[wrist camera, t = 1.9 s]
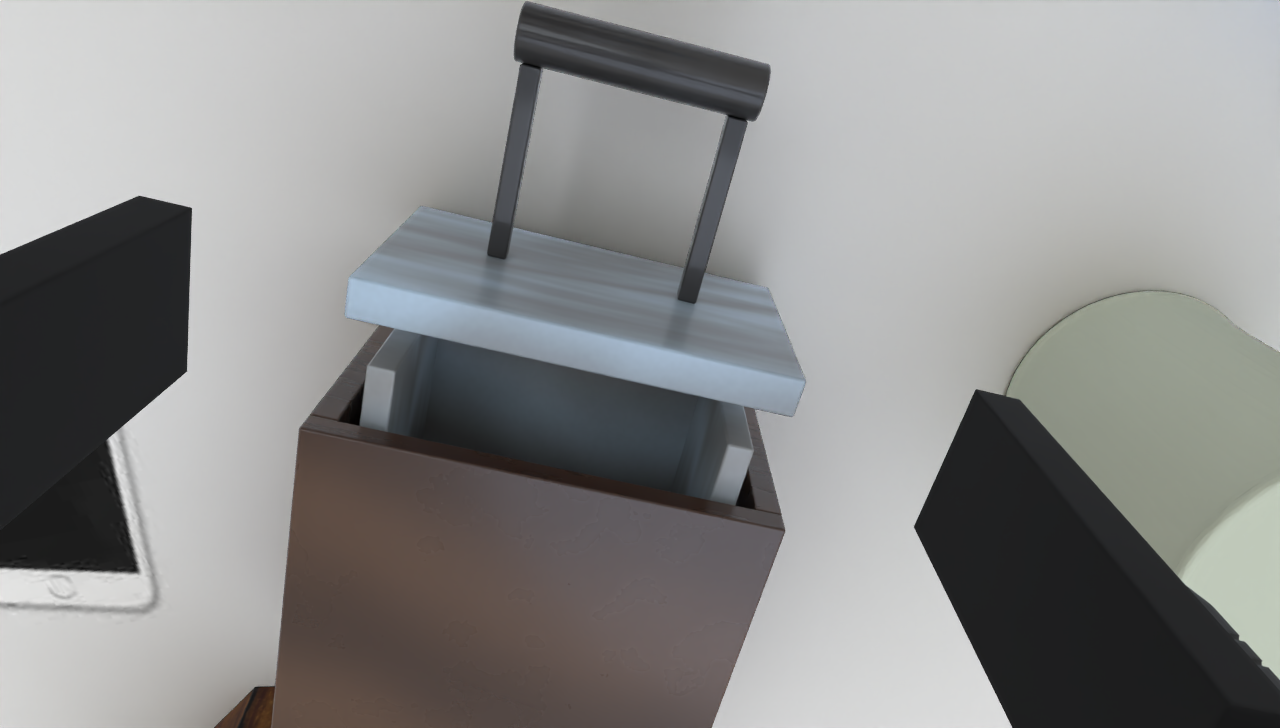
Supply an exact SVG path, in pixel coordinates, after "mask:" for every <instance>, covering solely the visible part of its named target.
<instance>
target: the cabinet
mask: <svg viewBox="0 0 1280 728" xmlns="http://www.w3.org/2000/svg"><path fill="white" fill-rule="evenodd" d="M393 330H394V328H390V327H386V326H381V325H379V327H378V328H377V329H376V330H375V332H374V333H373V334H372V336H371V337H370V338H369V339H368V341H367V342H366V343H365V345H364V346H363V347H362V348H361V350H360V351H359V352H358V354H357V355H356V356H355V357H354V359H353V360H352V361H351V363H350V364H349V365H348V366H347V368H346V369H345V370H344V372H343V373H342V374H341V375H340V377H339V378H338V379H337V381H336V382H335V383H334V384H333V386H332V387H331V388H330V390H329V391H328V392H327V393H326V395H325V396H324V397H323V399H322V400H321V401H320V402H319V404H318V405H317V406H316V408H315V409H314V410H313V411H312V413H311V414H310V416H309V417H308V418H307V419H306V420H305V422H304V423H303V424H302V426H301V427H300V428H299V435H298V446H297V456H296V467H295V478H294V489H293V499H292V510H291V521H290V532H289V542H288V553H287V564H286V575H285V585H284V596H283V607H282V618H281V628H280V639H279V650H278V661H277V671H276V682H275V693H274V704H273V714H272V725H271V728H712V725H713V722H714V720H715V717H716V714H717V712H718V709H719V706H720V704H721V701H722V698H723V696H724V693H725V690H726V688H727V685H728V683H729V680H730V677H731V675H732V672H733V669H734V667H735V664H736V661H737V659H738V656H739V653H740V651H741V648H742V645H743V643H744V640H745V637H746V635H747V632H748V629H749V627H750V624H751V621H752V619H753V616H754V613H755V611H756V608H757V605H758V603H759V600H760V597H761V595H762V592H763V589H764V587H765V584H766V581H767V579H768V576H769V573H770V571H771V568H772V565H773V563H774V560H775V557H776V555H777V552H778V549H779V547H780V544H781V541H782V539H783V536H784V533H785V527H784V523H783V519H782V516H781V510H780V507H779V503H778V499H777V495H776V491H775V487H774V483H773V479H772V475H771V472H770V468H769V464H768V460H767V456H766V452H765V448H764V444H763V440H762V437H761V433H760V429H759V425H758V421H757V417H756V413H755V409H753V408H749V407H744V410H745V414H746V419H747V423H748V427H749V432H750V436H751V440H752V444H753V449H754V452H753V455H752V458H751V461H750V464H749V467H748V470H747V473H746V475H745V478H744V481H743V484H742V487H741V490H740V493H739V496H738V499H737V502H736V505H730V504H725V503H721V502H716V501H711V500H706V499H702V498H697V497H692V496H688V495H683V494H678V493H673V492H669V491H664V490H659V489H655V488H650V487H645V486H640V485H636V484H631V483H626V482H622V481H617V480H612V479H607V478H603V477H598V476H593V475H589V474H584V473H579V472H574V471H570V470H565V469H560V468H556V467H551V466H546V465H541V464H537V463H532V462H527V461H523V460H518V459H513V458H508V457H504V456H499V455H494V454H489V453H485V452H480V451H475V450H471V449H466V448H461V447H456V446H452V445H447V444H442V443H438V442H433V441H428V440H423V439H419V438H414V437H409V436H405V435H400V434H395V433H390V432H386V431H381V430H376V429H372V428H367V427H362V426H360V418H361V410H362V402H363V394H364V386H365V378H366V370H367V365H368V364H369V363H370V361H371V360H372V359H373V357H374V356H375V354H376V353H377V352H378V350H379V349H380V348H381V346H382V345H383V343H384V342H385V341H386V339H387V338H388V337H389V335H390V334H391V332H392V331H393Z"/></svg>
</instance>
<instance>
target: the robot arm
mask: <svg viewBox="0 0 1280 728" xmlns="http://www.w3.org/2000/svg"><path fill="white" fill-rule="evenodd" d="M191 221H192V208H190V207H186V206H181V205H177V204H173V203H168V202H164V201H160V200H155V199H151V198H147V197H142V196H138V197H135V198H133V199H130V200H128V201H126V202H123V203H121V204H119V205H116V206H114V207H112V208H109V209H107V210H105V211H102V212H100V213H97V214H95V215H93V216H90V217H88V218H86V219H83V220H81V221H79V222H76V223H74V224H72V225H69V226H67V227H65V228H62V229H60V230H57V231H55V232H53V233H50V234H48V235H46V236H43V237H41V238H39V239H36V240H34V241H32V242H29V243H27V244H24V245H22V246H20V247H17V248H15V249H13V250H10V251H8V252H6V253H3V254H1V255H0V530H1V529H2V528H4V527H5V526H6V525H7V524H8V523H9V522H11V521H12V520H13V519H14V518H15V517H16V516H18V515H19V514H20V513H21V512H22V511H23V510H25V509H26V508H27V507H28V506H29V505H31V504H32V503H33V502H34V501H35V500H36V499H38V498H39V497H40V496H41V495H42V494H43V493H45V492H46V491H47V490H48V489H49V488H50V487H52V486H53V485H54V484H55V483H56V482H58V481H59V480H60V479H61V478H62V477H63V476H65V475H66V474H67V473H68V472H69V471H70V470H72V469H73V468H74V467H75V466H76V465H77V464H79V463H80V462H81V461H82V460H83V459H85V458H86V457H87V456H88V455H89V454H90V453H92V452H93V451H94V450H95V449H96V448H97V447H99V446H100V445H101V444H102V443H103V442H104V441H106V440H107V439H108V438H109V437H110V436H112V435H113V434H114V433H115V432H116V431H117V430H119V429H120V428H121V427H122V426H123V425H124V424H126V423H127V422H128V421H129V420H130V419H132V418H133V417H134V416H135V415H136V414H137V413H139V412H140V411H141V410H142V409H143V408H144V407H146V406H147V405H148V404H149V403H150V402H151V401H153V400H154V399H155V398H156V397H157V396H159V395H160V394H161V393H162V392H163V391H164V390H166V389H167V388H168V387H169V386H170V385H171V384H173V383H174V382H175V381H176V380H177V379H178V378H180V377H181V376H182V375H183V374H184V373H186V372H187V352H188V319H189V286H190V253H191ZM914 528H915V530H916V532H917V534H918V536H919V538H920V540H921V542H922V544H923V546H924V548H925V551H926V553H927V555H928V557H929V559H930V561H931V563H932V565H933V567H934V569H935V571H936V573H937V575H938V577H939V579H940V581H941V583H942V585H943V587H944V589H945V591H946V593H947V595H948V597H949V599H950V601H951V603H952V605H953V608H954V610H955V612H956V614H957V616H958V618H959V620H960V622H961V624H962V626H963V628H964V630H965V632H966V634H967V636H968V638H969V640H970V642H971V644H972V646H973V648H974V650H975V652H976V654H977V656H978V658H979V660H980V662H981V665H982V667H983V669H984V671H985V673H986V675H987V677H988V679H989V681H990V683H991V685H992V687H993V689H994V691H995V693H996V695H997V697H998V699H999V701H1000V703H1001V705H1002V707H1003V709H1004V711H1005V713H1006V715H1007V717H1008V719H1009V722H1010V724H1011V726H1012V728H1280V680H1279V678H1278V677H1277V676H1276V675H1275V674H1274V673H1273V672H1272V671H1271V670H1270V669H1269V667H1265V666H1262V660H1261V659H1260V658H1259V656H1258V655H1257V654H1256V653H1255V652H1254V651H1253V650H1252V649H1251V648H1250V646H1249V645H1248V644H1247V643H1246V642H1244V641H1240V640H1239V636H1240V635H1239V634H1238V633H1237V632H1236V631H1235V630H1234V629H1233V628H1232V627H1231V626H1230V624H1229V623H1228V622H1227V621H1226V620H1225V619H1224V618H1223V617H1222V616H1221V615H1220V613H1219V612H1218V611H1217V610H1216V609H1215V608H1214V607H1213V606H1212V605H1211V604H1210V603H1208V602H1207V601H1206V600H1205V599H1203V598H1202V597H1201V596H1199V595H1198V594H1197V593H1195V592H1194V591H1193V590H1192V589H1190V588H1189V587H1188V586H1186V585H1185V584H1184V583H1183V582H1182V580H1181V579H1180V578H1179V577H1178V576H1177V575H1176V574H1175V573H1174V572H1173V570H1172V569H1171V568H1170V567H1169V566H1168V565H1167V564H1166V563H1165V561H1164V560H1163V559H1162V558H1161V557H1160V556H1159V555H1158V554H1157V553H1156V551H1155V550H1154V549H1153V548H1152V547H1151V546H1150V545H1149V544H1148V542H1147V541H1146V540H1145V539H1144V538H1143V537H1142V536H1141V535H1140V533H1139V532H1138V531H1137V530H1136V529H1135V528H1134V527H1133V526H1132V525H1131V523H1130V522H1129V521H1128V520H1127V519H1126V518H1125V517H1124V516H1123V514H1122V513H1121V512H1120V511H1119V510H1118V509H1117V508H1116V507H1115V506H1114V504H1113V503H1112V502H1111V501H1110V500H1109V499H1108V498H1107V497H1106V495H1105V494H1104V493H1103V492H1102V491H1101V490H1100V489H1099V488H1098V486H1097V485H1096V484H1095V483H1094V482H1093V481H1092V480H1091V479H1090V478H1089V476H1088V475H1087V474H1086V473H1085V472H1084V471H1083V470H1082V469H1081V467H1080V466H1079V465H1078V464H1077V463H1076V462H1075V461H1074V460H1073V459H1072V457H1071V456H1070V455H1069V454H1068V453H1067V452H1066V451H1065V450H1064V448H1063V447H1062V446H1061V445H1060V444H1059V443H1058V442H1057V441H1056V439H1055V438H1054V437H1053V436H1052V435H1051V434H1050V433H1049V432H1048V431H1047V429H1046V428H1045V427H1044V426H1043V425H1042V424H1041V423H1040V422H1039V420H1038V419H1037V418H1036V417H1035V416H1034V415H1033V414H1032V413H1031V411H1030V410H1029V409H1028V408H1027V407H1026V406H1025V405H1024V404H1023V403H1022V401H1021V400H1020V399H1016V398H1011V397H1007V396H1003V395H998V394H994V393H990V392H985V391H981V390H977V389H976V390H975V392H974V395H973V397H972V399H971V401H970V403H969V406H968V408H967V410H966V412H965V415H964V417H963V419H962V421H961V423H960V426H959V428H958V430H957V432H956V435H955V437H954V439H953V441H952V443H951V446H950V448H949V450H948V452H947V455H946V457H945V459H944V461H943V463H942V466H941V468H940V470H939V472H938V475H937V477H936V479H935V481H934V483H933V486H932V488H931V490H930V492H929V495H928V497H927V499H926V501H925V503H924V506H923V508H922V510H921V512H920V515H919V517H918V519H917V521H916V523H915V526H914Z"/></svg>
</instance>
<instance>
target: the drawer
mask: <svg viewBox="0 0 1280 728" xmlns="http://www.w3.org/2000/svg"><path fill="white" fill-rule="evenodd" d="M514 59H515V61H517V62H521V63H522V64H521V65H520V69H519V75H518V80H517V86H516V92H515V97H514V103H513V108H512V114H511V120H510V125H509V131H508V137H507V142H506V148H505V154H504V159H503V165H502V170H501V176H500V182H499V187H498V193H497V199H496V204H495V210H494V216H493V221H492V222H488V221H484V220H480V219H475V218H471V217H467V216H463V215H459V214H454V213H450V212H446V211H442V210H437V209H433V208H429V207H425V206H420V207H419V208H418V209H417V210H416V211H415V212H414V213H413V214H412V215H411V216H410V217H409V218H408V219H407V220H406V221H405V222H404V223H403V224H402V225H401V226H400V227H399V228H398V229H397V230H396V231H395V232H394V233H393V234H392V235H391V236H390V237H389V238H388V239H387V240H386V241H385V242H384V243H383V244H382V245H381V246H380V247H379V248H378V249H377V250H376V251H375V252H374V253H373V254H372V255H371V256H370V257H369V258H368V259H367V260H366V261H365V262H364V263H363V264H362V265H361V266H360V267H359V268H358V269H357V270H356V271H355V272H354V273H353V274H352V275H351V276H350V277H349V278H348V287H347V296H346V305H345V317H347V318H350V319H354V320H359V321H363V322H368V323H372V324H377V325H381V326H386V327H390V328H394V330H393V331H392V332H391V334H390V335H389V337H388V338H387V339H386V341H385V342H384V343H383V345H382V346H381V348H380V349H379V350H378V352H377V353H376V354H375V356H374V357H373V359H372V360H371V361H370V363H369V364H368V365H367V370H366V378H365V386H364V394H363V402H362V410H361V418H360V426H362V427H367V428H372V429H376V430H381V431H386V432H390V433H395V434H400V435H405V436H409V437H414V438H419V439H423V440H428V441H433V442H438V443H442V444H447V445H452V446H456V447H461V448H466V449H471V450H475V451H480V452H485V453H489V454H494V455H499V456H504V457H508V458H513V459H518V460H523V461H527V462H532V463H537V464H541V465H546V466H551V467H556V468H560V469H565V470H570V471H574V472H579V473H584V474H589V475H593V476H598V477H603V478H607V479H612V480H617V481H622V482H626V483H631V484H636V485H640V486H645V487H650V488H655V489H659V490H664V491H669V492H673V493H678V494H683V495H688V496H692V497H697V498H702V499H706V500H711V501H716V502H721V503H725V504H730V505H736V502H737V499H738V496H739V493H740V490H741V487H742V484H743V481H744V478H745V475H746V473H747V470H748V467H749V464H750V461H751V458H752V455H753V452H754V449H753V444H752V440H751V436H750V432H749V427H748V423H747V419H746V414H745V410H744V407H749V408H753V409H758V410H762V411H767V412H771V413H776V414H780V415H784V416H789V417H793V416H794V414H795V411H796V409H797V406H798V403H799V400H800V397H801V395H802V392H803V389H804V386H805V383H806V380H805V377H804V375H803V372H802V370H801V367H800V365H799V362H798V360H797V357H796V355H795V352H794V350H793V348H792V345H791V343H790V340H789V338H788V335H787V333H786V330H785V328H784V325H783V323H782V320H781V318H780V315H779V313H778V311H777V308H776V306H775V303H774V301H773V298H772V296H771V293H770V291H769V289H768V288H767V287H762V286H758V285H754V284H750V283H745V282H741V281H737V280H733V279H729V278H724V277H720V276H716V275H712V274H707V273H705V270H706V267H707V263H708V260H709V256H710V253H711V249H712V246H713V242H714V239H715V235H716V232H717V228H718V225H719V221H720V218H721V215H722V211H723V208H724V204H725V201H726V197H727V194H728V190H729V187H730V183H731V180H732V176H733V173H734V169H735V166H736V162H737V159H738V155H739V152H740V148H741V145H742V141H743V138H744V134H745V131H746V127H747V124H748V122H747V121H746V120H748V121H755V120H756V119H757V117H758V116H759V114H760V111H761V109H762V106H763V103H764V100H765V97H766V93H767V89H768V85H769V80H770V73H771V69H770V65H769V64H766V63H762V62H758V61H754V60H750V59H747V58H743V57H739V56H735V55H731V54H727V53H724V52H720V51H716V50H712V49H708V48H705V47H701V46H697V45H693V44H689V43H685V42H682V41H678V40H674V39H670V38H666V37H663V36H659V35H655V34H651V33H647V32H643V31H640V30H636V29H632V28H628V27H624V26H621V25H617V24H613V23H609V22H605V21H601V20H598V19H594V18H590V17H586V16H582V15H579V14H575V13H571V12H567V11H563V10H559V9H556V8H552V7H548V6H544V5H540V4H537V3H533V2H529V1H526V2H525V3H524V4H523V7H522V9H521V13H520V16H519V21H518V25H517V30H516V36H515V44H514ZM543 68H544V69H548V70H552V71H556V72H560V73H564V74H568V75H572V76H576V77H580V78H584V79H588V80H592V81H595V82H599V83H603V84H607V85H611V86H615V87H619V88H623V89H627V90H631V91H635V92H639V93H642V94H646V95H650V96H654V97H658V98H662V99H666V100H670V101H674V102H678V103H682V104H686V105H690V106H693V107H697V108H701V109H705V110H709V111H713V112H717V113H721V114H725V115H726V118H725V121H724V125H723V129H722V132H721V136H720V140H719V143H718V147H717V150H716V154H715V158H714V161H713V165H712V169H711V172H710V176H709V179H708V183H707V187H706V190H705V194H704V197H703V201H702V205H701V208H700V212H699V216H698V219H697V223H696V226H695V230H694V234H693V237H692V241H691V245H690V248H689V252H688V255H687V259H686V263H685V266H684V268H682V267H678V266H674V265H670V264H665V263H661V262H657V261H653V260H648V259H644V258H640V257H636V256H632V255H627V254H623V253H619V252H615V251H610V250H606V249H602V248H598V247H594V246H589V245H585V244H581V243H577V242H572V241H568V240H564V239H560V238H556V237H551V236H547V235H543V234H539V233H534V232H530V231H526V230H522V229H518V228H513V227H514V221H515V216H516V211H517V205H518V200H519V195H520V189H521V184H522V179H523V173H524V168H525V163H526V157H527V152H528V147H529V141H530V136H531V131H532V125H533V120H534V115H535V109H536V104H537V99H538V94H539V88H540V83H541V78H542V72H543Z"/></svg>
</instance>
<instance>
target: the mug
mask: <svg viewBox="0 0 1280 728" xmlns="http://www.w3.org/2000/svg"><path fill="white" fill-rule="evenodd" d="M274 693H275V687H255V688H254V689H253V690H252V691H251V692H250V693H249V694H248V695H247V696H246V697H245V698H244V699H243V700H242V701H241V702H240V703H239V704H238V705H237V706H236V707H235V708H234V709H233V710H232V711H231V712H230V713H229V714H228V715H227V716H226V717H225V718H224V719H222V720H221V721H220V722H219V723H218V724H217V725H216V726H215V727H214V728H271V725H272V714H273V704H274Z"/></svg>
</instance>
